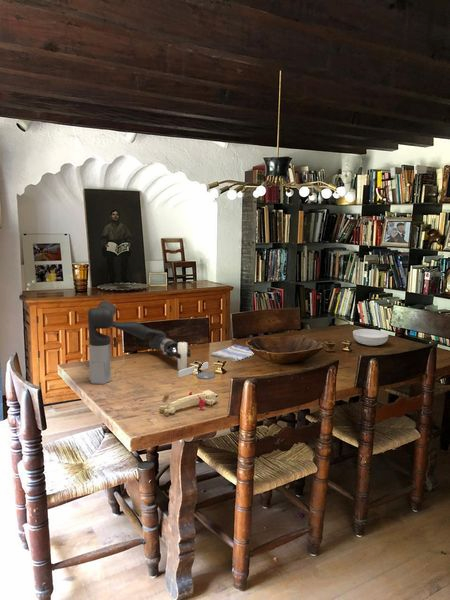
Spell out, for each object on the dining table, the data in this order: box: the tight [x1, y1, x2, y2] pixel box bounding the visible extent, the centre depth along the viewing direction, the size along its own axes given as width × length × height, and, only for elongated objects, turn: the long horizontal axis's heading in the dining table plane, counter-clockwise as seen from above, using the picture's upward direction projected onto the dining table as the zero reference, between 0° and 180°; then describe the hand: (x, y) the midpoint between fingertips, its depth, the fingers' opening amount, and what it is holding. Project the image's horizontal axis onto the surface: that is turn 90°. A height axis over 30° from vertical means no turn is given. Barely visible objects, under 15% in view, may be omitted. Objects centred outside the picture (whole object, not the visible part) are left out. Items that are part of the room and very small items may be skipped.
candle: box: [176, 341, 188, 371], centre depth 238 cm, size 5×5×14 cm
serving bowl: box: [352, 328, 390, 347], centre depth 296 cm, size 21×21×7 cm
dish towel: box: [210, 344, 255, 362], centre depth 267 cm, size 17×24×3 cm
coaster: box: [195, 371, 216, 380], centre depth 230 cm, size 9×9×1 cm
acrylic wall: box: [177, 361, 209, 378], centre depth 234 cm, size 1×20×3 cm, turn 140°
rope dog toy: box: [159, 389, 219, 417], centre depth 192 cm, size 10×9×25 cm
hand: (184, 356), depth 236 cm, fingers closed on candle, 4 cm apart
